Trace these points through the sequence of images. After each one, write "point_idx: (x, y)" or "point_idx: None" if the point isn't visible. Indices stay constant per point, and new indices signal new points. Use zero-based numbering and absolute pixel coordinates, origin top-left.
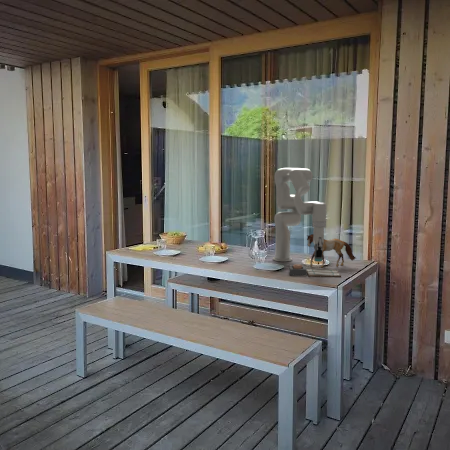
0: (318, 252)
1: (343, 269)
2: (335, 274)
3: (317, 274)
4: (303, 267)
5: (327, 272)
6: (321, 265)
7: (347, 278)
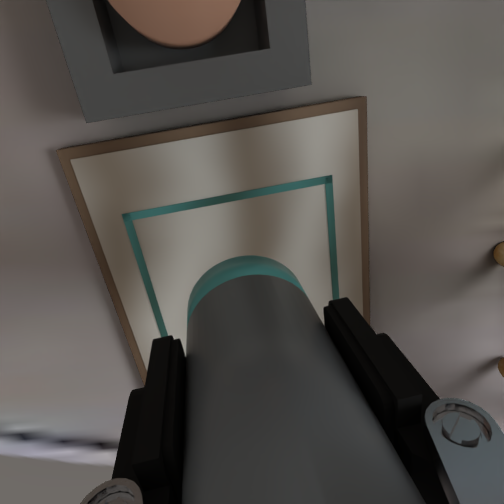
0: (123, 454)
1: None
2: None
3: (126, 243)
4: (210, 69)
5: None
6: None
7: None
